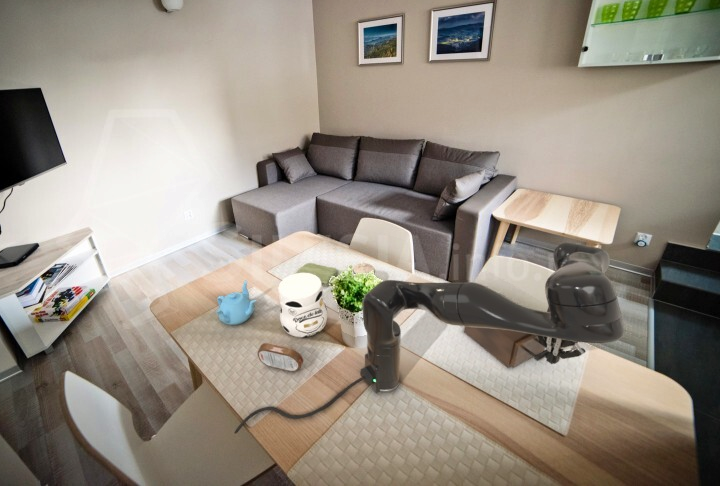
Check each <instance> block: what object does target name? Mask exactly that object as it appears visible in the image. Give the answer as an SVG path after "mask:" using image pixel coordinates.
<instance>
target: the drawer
mask: <svg viewBox="0 0 720 486" xmlns="http://www.w3.org/2000/svg"><path fill="white" fill-rule="evenodd" d="M543 338H544V337H543ZM544 340H545V339H544ZM546 352H547V349H546V347H545V346H543V345H542V344H541V343H540V341H539V338H538V336H537V335H535V334H530V335H528V336H526V337H525V338H523V339H521V340H520V341H518V342H516V343H515V346H514V350H513V354H512V359H511V363H510V365H511V368H513V369H514V368H516V367H518V366H520V365H521V364H523V363H525V362H527V361H528V360H529V359H532V358H533V359H534V360H535V361H536V362H539V361H540V360H543V359H544V358H546V357H545V356H546Z"/></svg>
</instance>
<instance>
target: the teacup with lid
mask: <svg viewBox="0 0 720 486" xmlns="http://www.w3.org/2000/svg"><path fill="white" fill-rule="evenodd" d="M372 270H374V274H376V269H375V267H374V266H373V265H372V264H370V263H367V262H362V263H358V264H356V265H354V267H353V269H352V273H353V275H354V274H356V273H369V272H371V271H372Z"/></svg>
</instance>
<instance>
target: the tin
mask: <svg viewBox="0 0 720 486" xmlns="http://www.w3.org/2000/svg"><path fill="white" fill-rule="evenodd" d="M257 358H258V360H259V361H260V362H261V363H262V364H263V365H265V366H267V367H270V368H274V369H278V370H282V371H286V372H291V373H296V372H298V371H300V369H301V367H302V365H303V364H304V357H303V356H302V355H301V352H299V351H297V350H296V349H294V348H292V347H287V346H283V345H278V344H275V343H269V342H264V343H262V344H261V345H260V347H259V348H258V350H257Z"/></svg>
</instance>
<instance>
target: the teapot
mask: <svg viewBox="0 0 720 486" xmlns="http://www.w3.org/2000/svg"><path fill="white" fill-rule="evenodd" d="M247 284H248V280H244V282H243V284H242V289H241V290H242V291H241V292H238V291H235V292H231V293H230V292H229V294H227V295H225V296H224V295H219V296H217V299H216V300H217V303H218V310H215V311H214V313H216V314H218V318H219V321H220V322H221V323H223V324H225V325H228V326H237V325H241V324H243V323H245V322H246V321H248V319H249V318H250V317H251V316H252V315H253V313H254V312H255V302H257V299H252V300H250V295H249V291H248V286H247Z"/></svg>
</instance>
